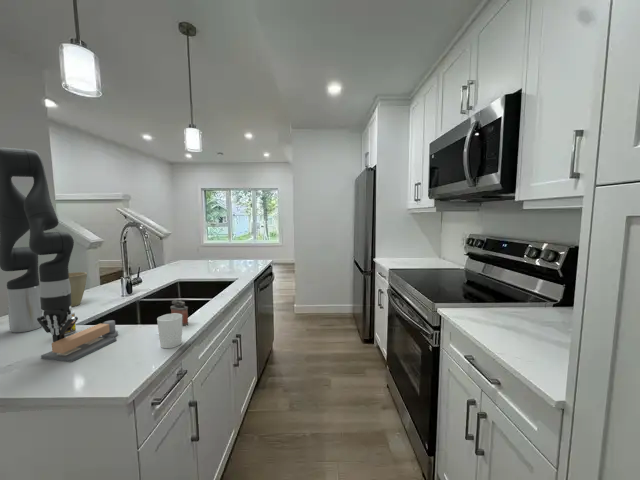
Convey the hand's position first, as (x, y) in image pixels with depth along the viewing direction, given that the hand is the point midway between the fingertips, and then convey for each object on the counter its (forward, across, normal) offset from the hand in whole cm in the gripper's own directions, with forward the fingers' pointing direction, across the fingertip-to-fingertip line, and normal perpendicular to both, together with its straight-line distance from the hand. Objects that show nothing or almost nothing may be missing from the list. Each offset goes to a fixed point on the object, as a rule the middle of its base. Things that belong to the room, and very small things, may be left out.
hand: (59, 344), depth 97 cm
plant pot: (+4, -47, +49) cm, 68 cm away
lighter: (+3, +24, +29) cm, 38 cm away
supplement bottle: (+4, -14, +16) cm, 21 cm away
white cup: (+3, +33, +10) cm, 34 cm away
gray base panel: (+3, +4, +7) cm, 8 cm away
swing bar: (+2, +4, +6) cm, 8 cm away
